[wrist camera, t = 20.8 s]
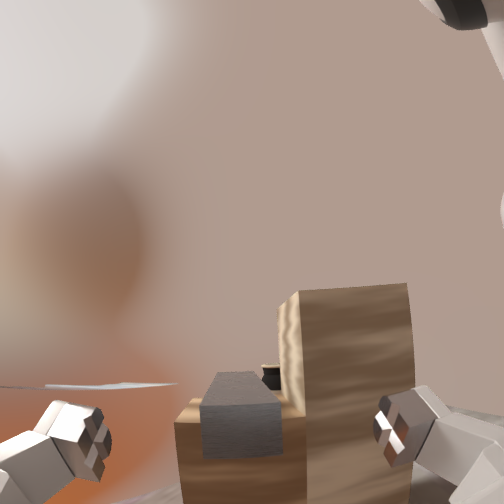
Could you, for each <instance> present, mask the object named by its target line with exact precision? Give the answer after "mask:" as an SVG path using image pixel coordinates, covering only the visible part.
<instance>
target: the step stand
mask: <svg viewBox="0 0 504 504" xmlns="http://www.w3.org/2000/svg"><path fill="white" fill-rule="evenodd" d="M277 322H278V337H279V356H280V374H281V394H279V395H275V396H276V397H277V398H278V399H279V400H280V402H281V414H282V437H283V455H281V456H270V457H258V458H240V459H203V449H202V438H201V425H200V411H199V405H200V403H201V401H202V400H203V398H193V399H192V400H191V401H190V403H189V404H188V405H187V406H186V408H185V409H184V410H183V411H182V413H181V414H180V415H179V417H178V418H177V419H176V420H175V422H174V429H175V440H176V448H177V449H176V450H177V458H178V467H179V475H180V483H181V490H182V497H183V503H184V504H408V502H409V495H410V487H411V479H412V469H413V462H410V463H406V464H403V465H400V466H397V467H393V468H391V466H390V465H389V463H388V461H387V459H386V458H385V456H384V454H383V453H384V449H385V447H383V446H381V445H379V444H378V443H377V441H376V439H375V437H374V433H373V422H374V418H375V416H376V415H377V414H378V413H379V412H380V411H381V410H380V408H379V407H378V404H379V401H380V399H381V398H382V396H384V395H389V394H393V393H397V392H401V391H405V390H408V389H411V388H415V364H414V347H413V335H412V324H411V314H410V305H409V297H408V290H407V283H401V284H388V285H376V286H363V287H349V288H335V289H320V290H319V289H318V290H301V291H297V292H296V293H295V294H294V295H293V296H292V297H291V298H289V299H288V300H287V301H286V302H285V303H284V304H282V305H281V306H280V307H279V308H278V309H277Z"/></svg>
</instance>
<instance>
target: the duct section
mask: <svg viewBox="0 0 504 504" xmlns="http://www.w3.org/2000/svg"><path fill="white" fill-rule="evenodd" d="M199 411H200V425H201V438H202V449H203V459H240V458H258V457H270V456H281V455H283V437H282V414H281V402H280V400H279V399H278V398H277V397H276V396H275V395H274V394H273V393H272V392H271V390H270V389H269V388H268V387H267V386H266V385H265V384H264V383H263V382H262V380H261V379H260V378H259V377H258V376H257V375H256V374H255V372H254V371H245V372H218V373H217V375H216V376H215V378H214V380H213V382H212V384H211V385H210V387H209V389H208V391H207V392H206V394H205V396H204V398H203V400H202V401H201V403H200V405H199Z"/></svg>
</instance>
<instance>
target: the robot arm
mask: <svg viewBox="0 0 504 504" xmlns="http://www.w3.org/2000/svg"><path fill="white" fill-rule="evenodd" d="M419 1H420V2H421V3H422V4H423V5H424V6H425V7H426V8H427V9H428V10H429V11H430V12H432V13H433V14H434V15H436V16H437V17H439V18H440V19H441V20H442V22H444V23H445V24H446V25H448V26H450V27H453V28H455V29H457V30H473V29H480V28H481V30H482V32H483V35H484V37H485V40H486V42H487V44H488V46H489V49H490V51H491V53H492V55H493V58H494V60H495V62H496V64H497V67H498V69H499V71H500V73H501V76H502V78H503V80H504V0H419ZM501 221H502V225H503V228H504V194H503V197H502V201H501ZM378 407H379V408H380V410H381V411H380V412H379V413H378V414H377V415H376V416H375V418H374V422H373V433H374V437H375V439H376V441H377V443H378V444H379V445H381V446H383V447H385V449H384V453H383V454H384V456H385V458H386V459H387V461H388V463H389V465H390V466H391V468H393V467H397V466H400V465H403V464H406V463H410V462H413V461H415V462H416V463H418V464H420V465H421V466H423V467H425V468H426V469H428V470H430V471H431V472H433V473H435V474H437V475H438V476H440V477H442V478H444V479H445V480H447V481H449V482H451V483H453V484H454V485H456V486H458V487H457V488H456V490H455V491H454V492H453V494H452V495H451V496H450V498H449V502H450V503H451V504H504V427H501V426H498V425H494V424H491V423H488V422H485V421H482V420H479V419H476V418H473V417H470V416H467V415H464V414H461V413H458V412H454V413H452V412H451V411H450V410H449V409H448V408H447V407H446V406H445V405H444V403H443V402H442V401H441V400H440V399H439V398H438V397H437V396H436V395H435V394H434V393H433V391H432V390H431V389H430V388H429V387H428V386H426V385H422V386H419V387H415V388H411V389H408V390H405V391H401V392H397V393H393V394H389V395H384V396H382V398H381V399H380V401H379V404H378ZM103 419H104V416H103V414H102V411H101V409H99V408H97V407H91V406H85V405H80V404H75V403H68V402H64V401H59V400H55V401H53V402H52V403H51V405H50V406H49V407H48V409H47V410H46V412H45V413H44V415H43V416H42V418H41V419H40V421H39V422H38V424H37V425H36V427H35V428H34V430H33V431H27V432H25V433H22V434H21V435H18V436H16V437H14V438H12V439H10V440H8V441H6V442H3V443H1V444H0V504H43V503H44V502H46V501H47V500H48V499H50V498H51V497H52V496H53V495H55V494H56V493H57V492H59V491H60V490H61V489H62V488H64V487H65V486H66V485H67V484H69V483H70V482H71V481H72V480H74V479H75V477H77V478H81V479H86V480H90V481H95V482H100V480H101V477H102V474H103V471H104V469H105V465H104V463H103V461H102V460H104V459H105V458H107V457H108V456H109V454H110V451H111V445H112V443H111V442H112V439H111V434H110V431H109V429H108V427H106V426H105V425H104V424H103V423H102V421H103Z"/></svg>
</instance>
